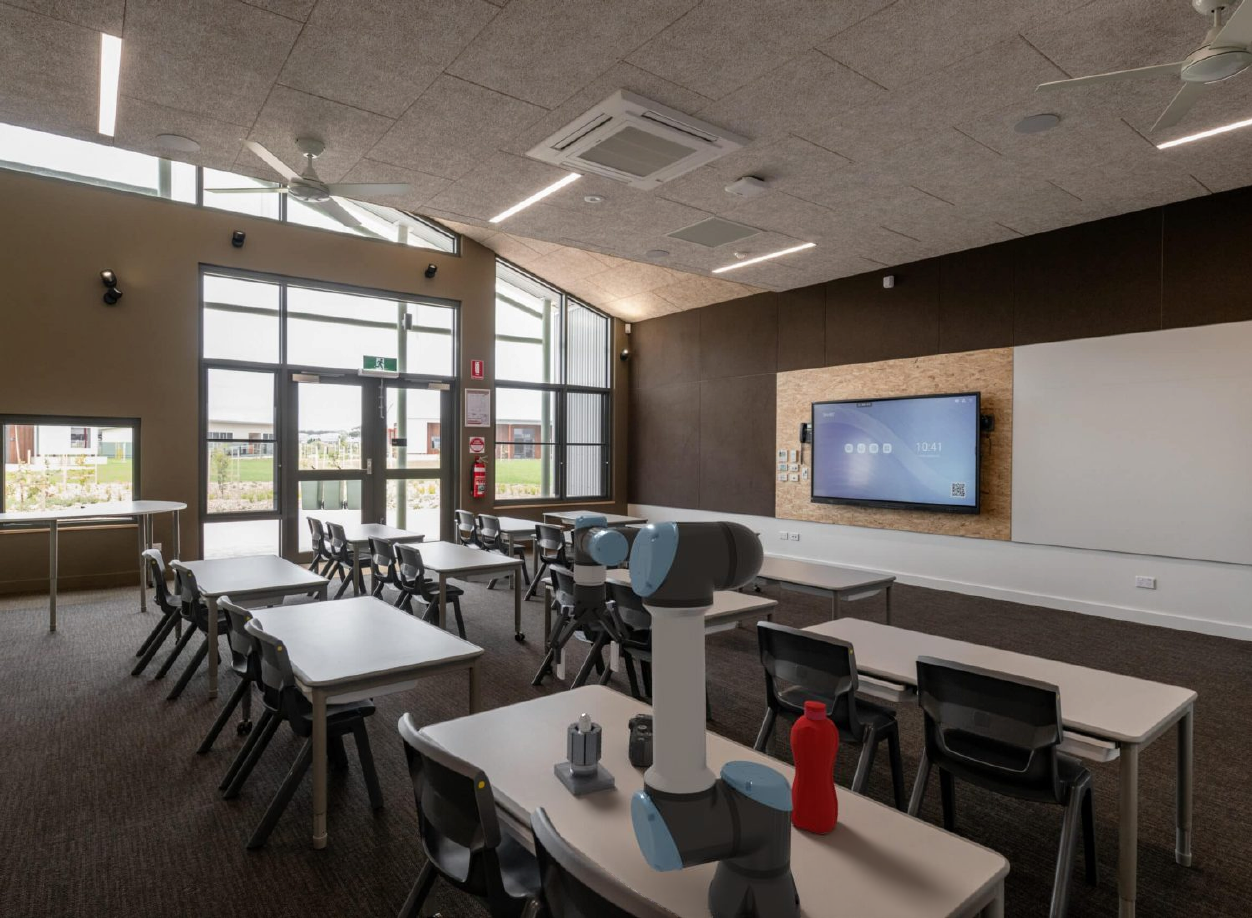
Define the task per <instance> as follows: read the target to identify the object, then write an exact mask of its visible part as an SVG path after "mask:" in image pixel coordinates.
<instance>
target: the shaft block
mask: <svg viewBox="0 0 1252 918" xmlns="http://www.w3.org/2000/svg"><path fill="white" fill-rule="evenodd" d="M578 722H579V731H581V732H589V731H591V722H592V718H591V716H590V714H588V713H587V712H586V713H585V712H583V713H582V714H580V716H579V718H578ZM553 768H554V769H553V774H555V776H556V777H557V778H558V780H560V781H561V783H562V784H563V785H564V786H565V787H566V788H567V789H568V790H569V792H570V793H571V794H572V795H573V796H575V797H576V796H579V795H582V794H587V793H588V794H589V793H592V792H595V791H600V790H605V789H609V788H613V787H615V786H616V785H615V783H616V778H615V776H614V775H613V774H612V773H610V771H609V770H607V769H606V768H605V767H604V766H603V765H602V764H601V763H600V762H599V761H598V763H596V764H591V765H586V766H585V765H584V766H583V765H577V764H573V763H571V762H570V761H569V760H568V761H563V762H560V763H555V764H553Z"/></svg>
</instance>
